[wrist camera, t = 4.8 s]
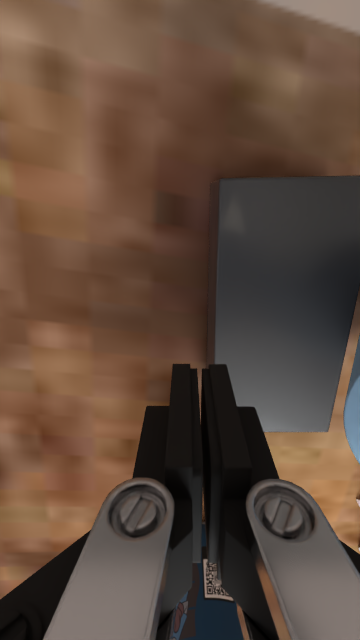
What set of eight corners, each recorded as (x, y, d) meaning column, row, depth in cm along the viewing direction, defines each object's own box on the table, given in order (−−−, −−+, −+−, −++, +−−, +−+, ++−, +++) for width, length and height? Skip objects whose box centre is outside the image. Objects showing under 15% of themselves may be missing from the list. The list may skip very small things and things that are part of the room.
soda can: (234, 570, 28) (265, 811, 17) (161, 561, 28) (144, 801, 17) (253, 521, 26) (304, 769, 15) (172, 510, 25) (161, 755, 14)
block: (209, 182, 16) (219, 178, 11) (326, 180, 16) (384, 174, 11) (206, 378, 20) (211, 432, 16) (296, 378, 20) (328, 433, 16)
